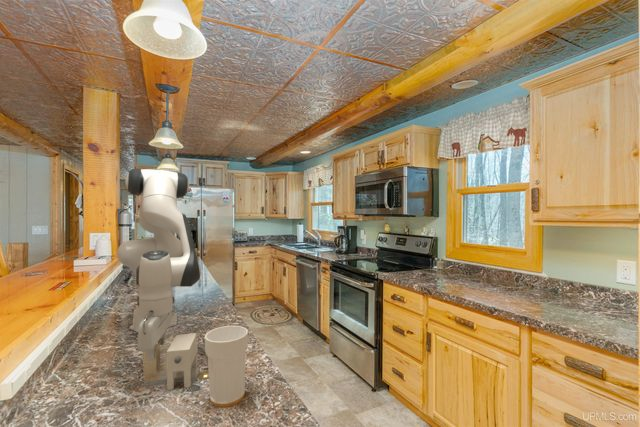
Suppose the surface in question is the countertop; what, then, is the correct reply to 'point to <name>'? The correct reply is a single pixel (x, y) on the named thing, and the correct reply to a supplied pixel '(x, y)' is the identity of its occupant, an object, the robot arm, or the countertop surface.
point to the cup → (226, 364)
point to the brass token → (203, 374)
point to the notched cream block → (181, 358)
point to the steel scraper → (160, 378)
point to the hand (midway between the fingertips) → (156, 351)
